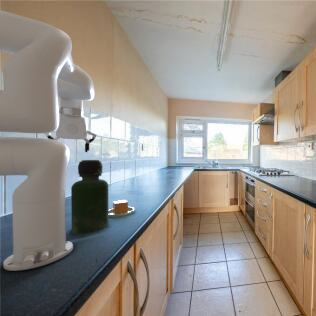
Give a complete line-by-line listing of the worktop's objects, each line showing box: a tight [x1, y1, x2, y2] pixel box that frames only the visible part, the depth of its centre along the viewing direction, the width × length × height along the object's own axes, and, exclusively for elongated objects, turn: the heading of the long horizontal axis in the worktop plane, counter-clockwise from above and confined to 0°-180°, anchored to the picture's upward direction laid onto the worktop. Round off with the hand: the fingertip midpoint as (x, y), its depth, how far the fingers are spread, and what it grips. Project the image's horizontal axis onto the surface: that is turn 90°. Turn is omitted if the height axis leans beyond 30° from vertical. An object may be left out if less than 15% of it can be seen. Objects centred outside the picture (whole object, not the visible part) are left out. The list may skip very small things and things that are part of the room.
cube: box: [112, 199, 129, 214], centre depth 83 cm, size 5×5×5 cm
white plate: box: [108, 206, 135, 218], centre depth 83 cm, size 11×11×2 cm
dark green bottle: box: [70, 159, 109, 235], centre depth 66 cm, size 10×10×25 cm
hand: (72, 152), depth 82 cm, fingers open, 9 cm apart
